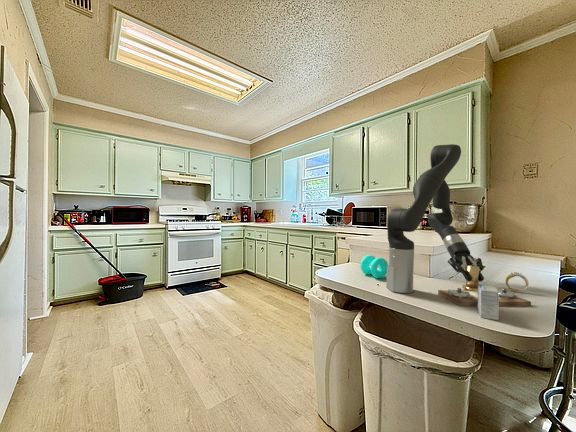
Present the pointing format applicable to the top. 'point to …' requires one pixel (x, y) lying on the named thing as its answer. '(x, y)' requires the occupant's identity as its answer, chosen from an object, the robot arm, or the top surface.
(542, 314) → the top surface
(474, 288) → the gold metal cylinder
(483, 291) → the medicine box
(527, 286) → the bracelet
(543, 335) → the top surface
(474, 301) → the gear board
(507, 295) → the steel gears
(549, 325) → the top surface
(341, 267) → the top surface
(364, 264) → the donuts
